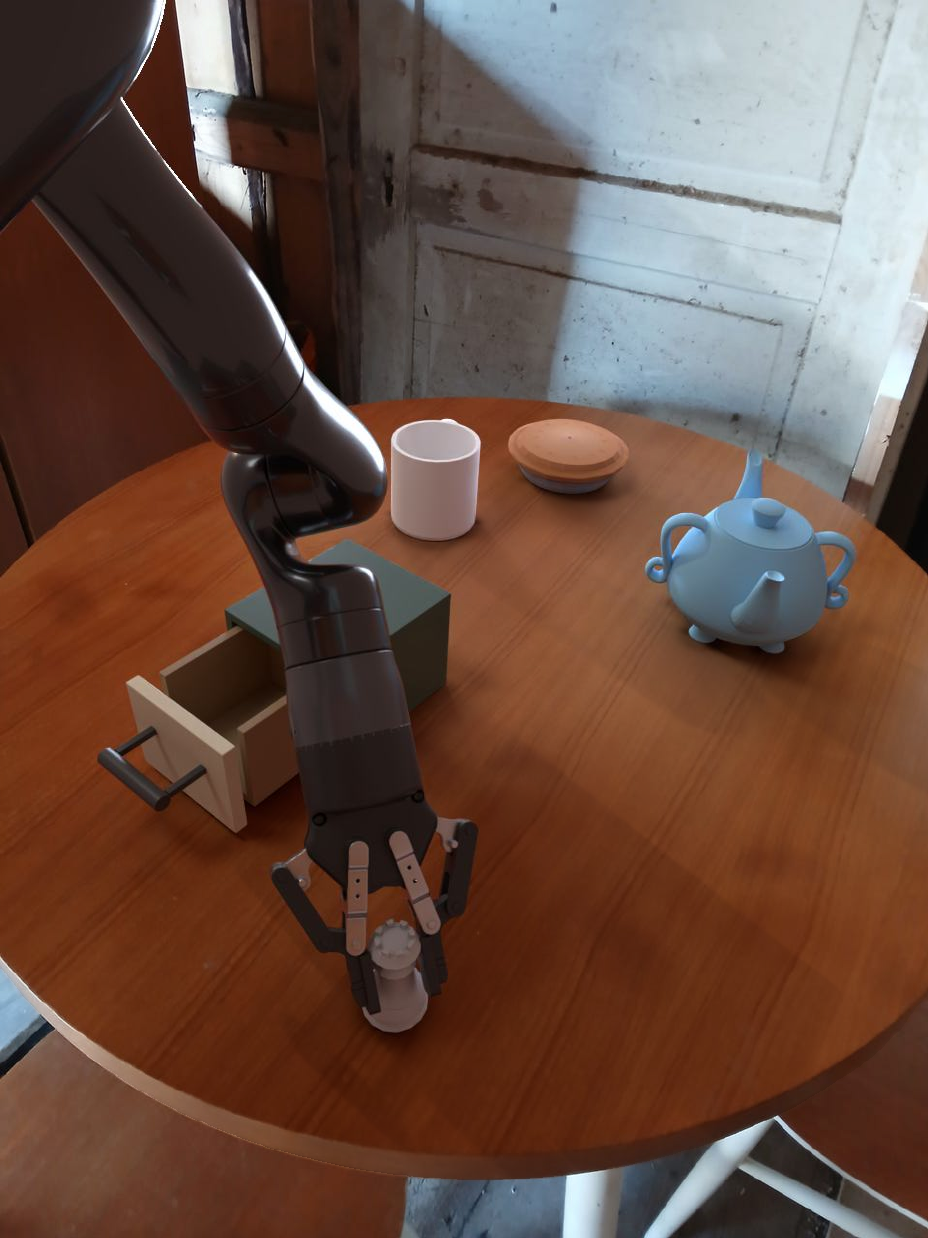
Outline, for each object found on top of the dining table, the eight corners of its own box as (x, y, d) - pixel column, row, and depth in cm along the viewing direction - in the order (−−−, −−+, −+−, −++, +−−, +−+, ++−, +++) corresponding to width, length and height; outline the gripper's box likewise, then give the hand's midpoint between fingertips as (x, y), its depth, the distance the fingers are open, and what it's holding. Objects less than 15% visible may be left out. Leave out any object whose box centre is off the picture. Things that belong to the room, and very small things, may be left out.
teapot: (737, 697, 86) (778, 578, 77) (614, 586, 99) (636, 473, 90) (856, 649, 92) (905, 534, 84) (725, 550, 105) (756, 442, 97)
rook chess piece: (398, 1050, 58) (398, 985, 53) (347, 1008, 60) (342, 941, 55) (441, 998, 61) (445, 932, 56) (391, 960, 63) (390, 892, 58)
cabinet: (336, 770, 76) (331, 677, 70) (237, 701, 82) (223, 609, 75) (446, 682, 85) (451, 593, 79) (350, 625, 91) (347, 537, 85)
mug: (465, 547, 103) (470, 468, 97) (380, 533, 104) (380, 454, 98) (487, 493, 113) (492, 417, 106) (409, 481, 114) (410, 405, 108)
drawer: (185, 873, 67) (167, 794, 61) (94, 793, 72) (70, 714, 66) (358, 738, 78) (355, 661, 72) (268, 678, 83) (260, 602, 78)
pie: (631, 506, 112) (638, 471, 109) (506, 499, 112) (509, 463, 109) (618, 447, 124) (624, 413, 121) (505, 440, 124) (508, 407, 121)
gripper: (242, 754, 52) (297, 1057, 51) (472, 706, 56) (528, 985, 55) (238, 752, 59) (286, 1017, 58) (442, 709, 63) (491, 956, 62)
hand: (403, 1000), depth 57 cm, fingers closed on rook chess piece, 3 cm apart
